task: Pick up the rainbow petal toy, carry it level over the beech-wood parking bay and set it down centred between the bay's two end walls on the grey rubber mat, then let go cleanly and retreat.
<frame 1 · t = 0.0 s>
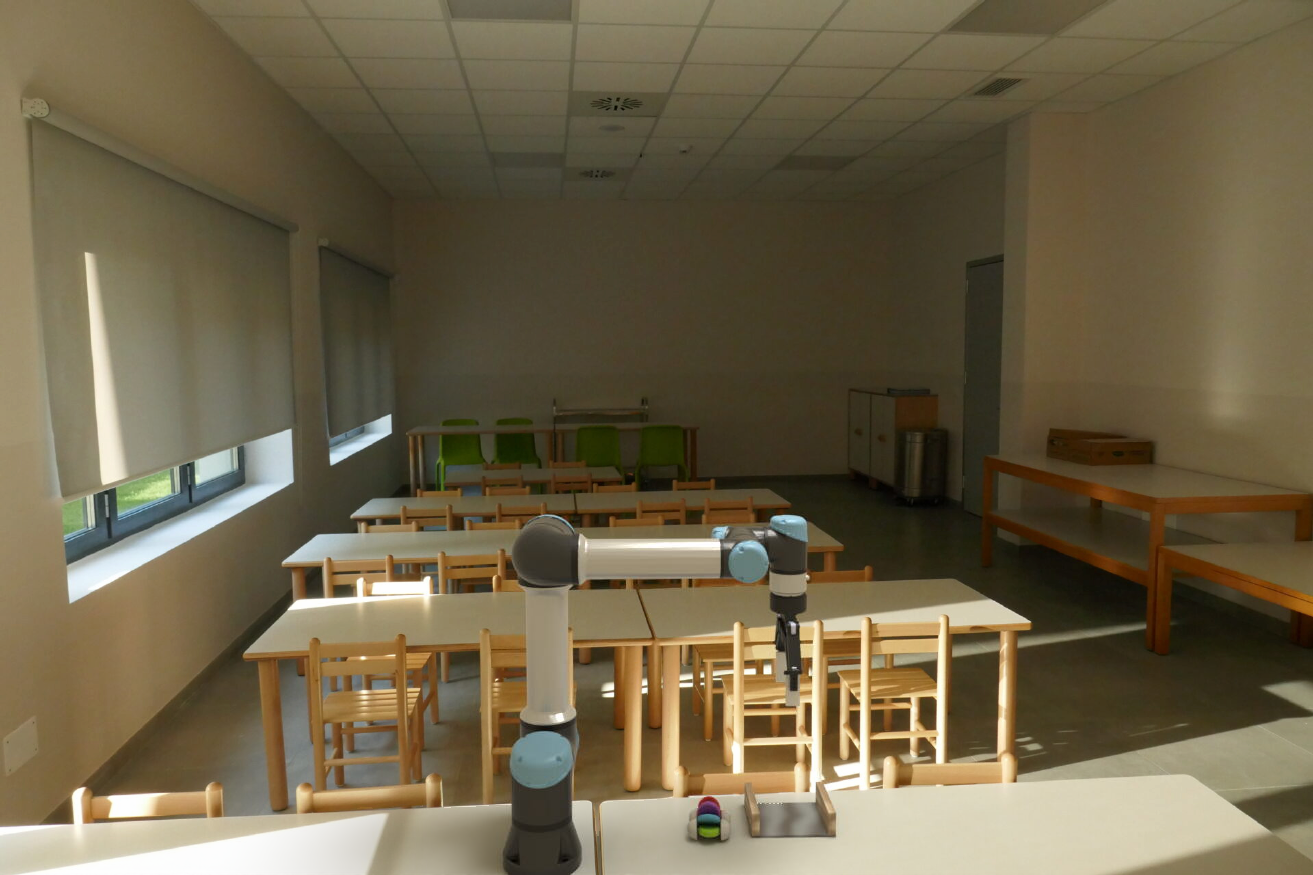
hand: (787, 693, 192), 28 cm above the table, fingers open, 13 cm apart
bay: (788, 819, 196), on the table
rainbow petal toy: (709, 834, 191), on the table
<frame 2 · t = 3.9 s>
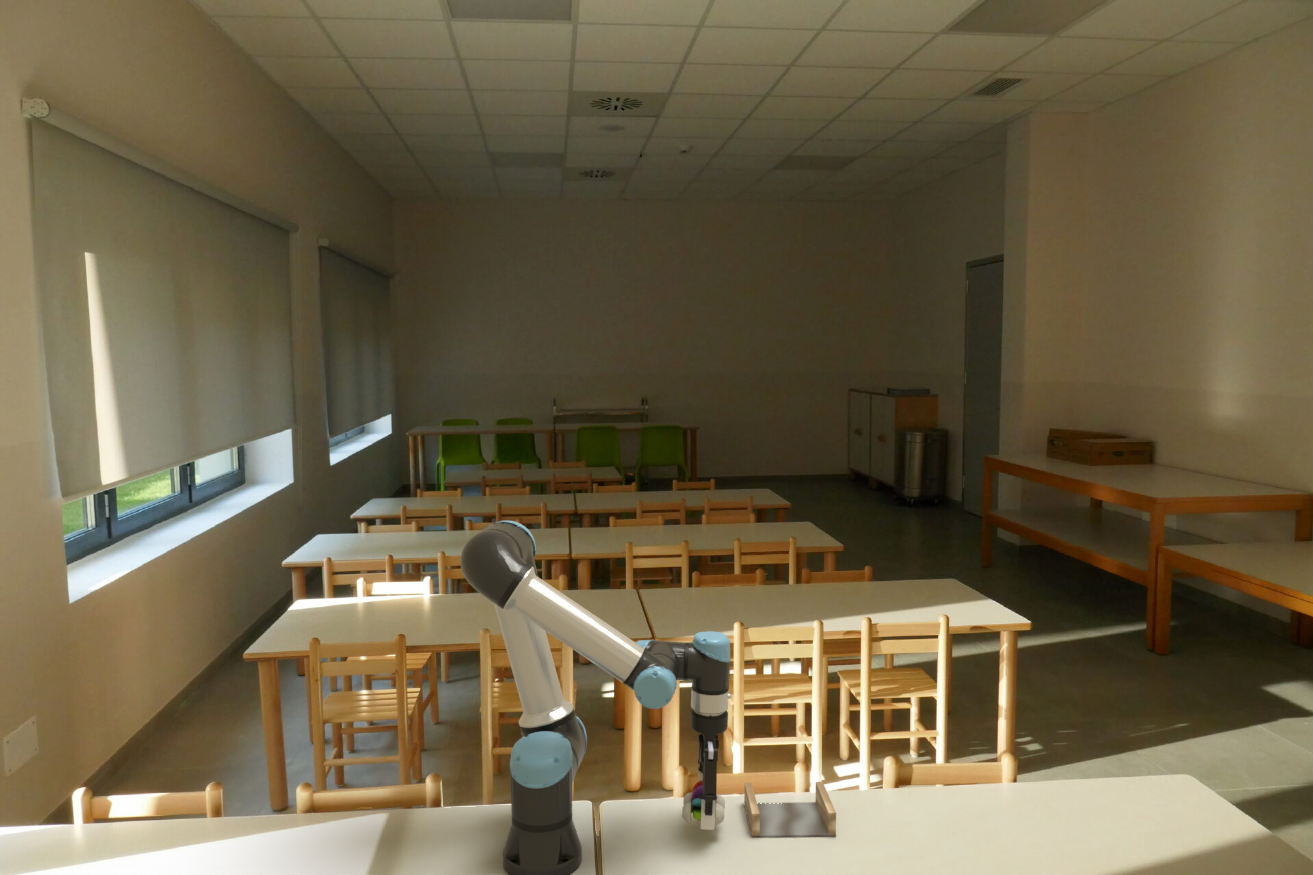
hand: (705, 815, 191), 4 cm above the table, fingers closed on rainbow petal toy, 10 cm apart
rainbow petal toy: (703, 818, 191), point 3 cm above the table, touching gripper
when the fingers open (2 cm above the table, at t = 8.7 s): rainbow petal toy drops 1 cm, resting on bay.
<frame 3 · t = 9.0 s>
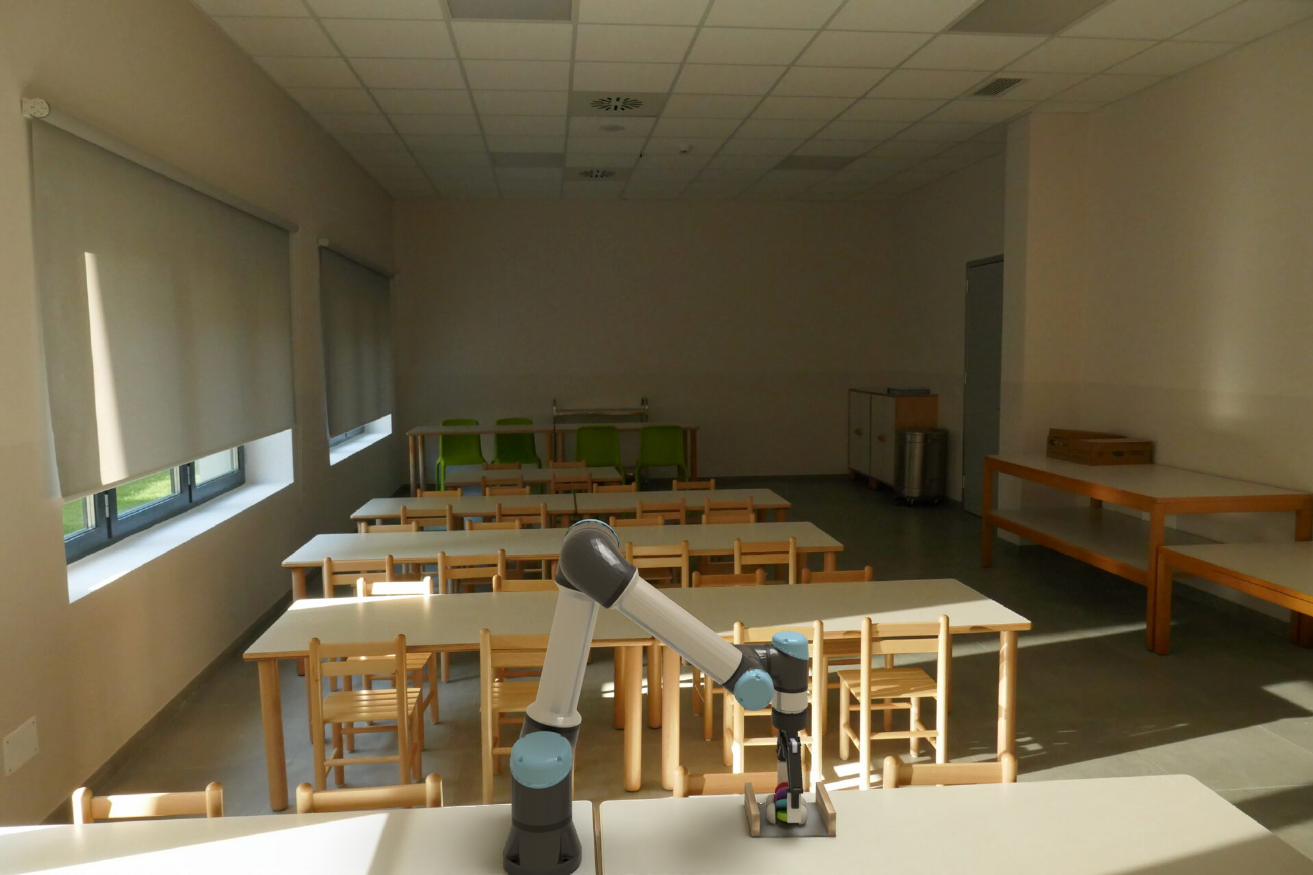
hand: (788, 805, 196), 3 cm above the table, fingers open, 13 cm apart
rainbow petal toy: (786, 819, 196), resting on bay
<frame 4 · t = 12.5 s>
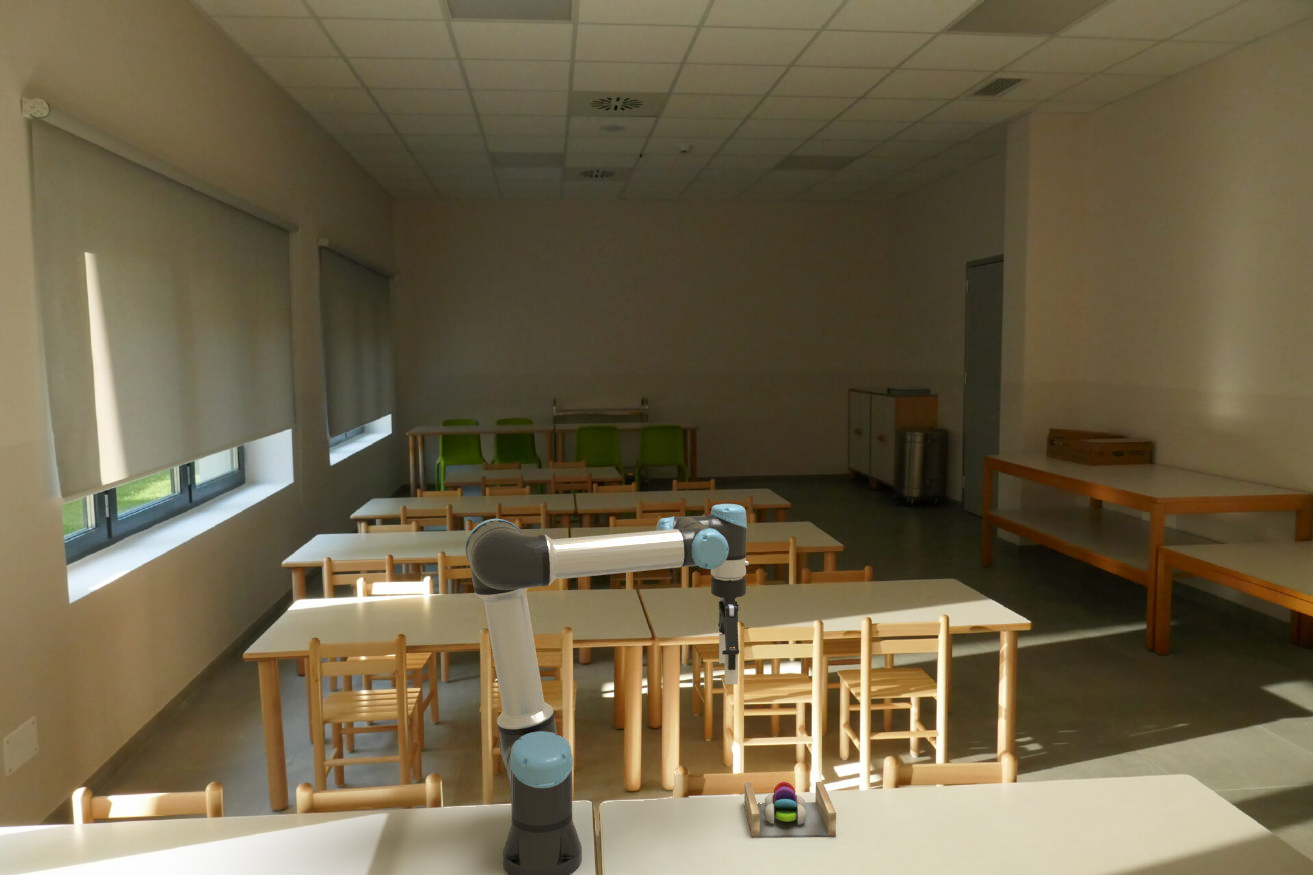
hand: (728, 672, 203), 29 cm above the table, fingers open, 13 cm apart
nothing on the table moved.
at the end: rainbow petal toy inside the target area on the bay (0.7 cm from its centre), point 0.2 cm above the bay's base; rainbow petal toy tilted 0°; the gripper is holding nothing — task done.
